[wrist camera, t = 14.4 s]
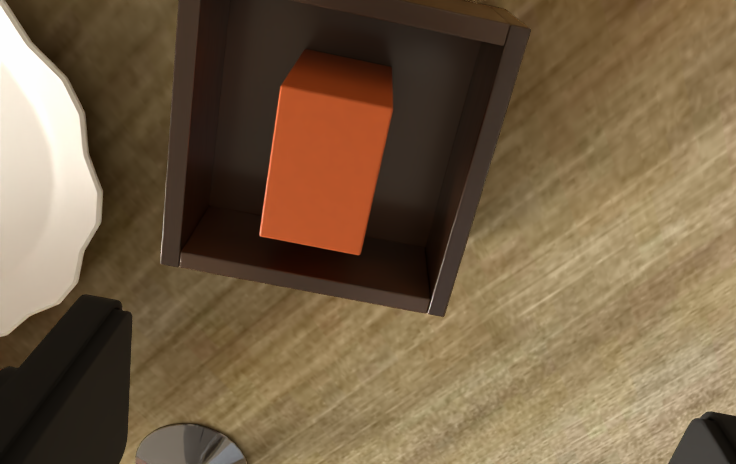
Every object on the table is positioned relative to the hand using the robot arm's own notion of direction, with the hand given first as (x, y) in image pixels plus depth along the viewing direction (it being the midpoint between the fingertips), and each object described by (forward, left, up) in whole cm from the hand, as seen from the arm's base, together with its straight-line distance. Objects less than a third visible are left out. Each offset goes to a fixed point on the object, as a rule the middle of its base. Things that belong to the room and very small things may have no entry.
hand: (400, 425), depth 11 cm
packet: (+2, +1, -21) cm, 21 cm away
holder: (+2, +1, -22) cm, 22 cm away
